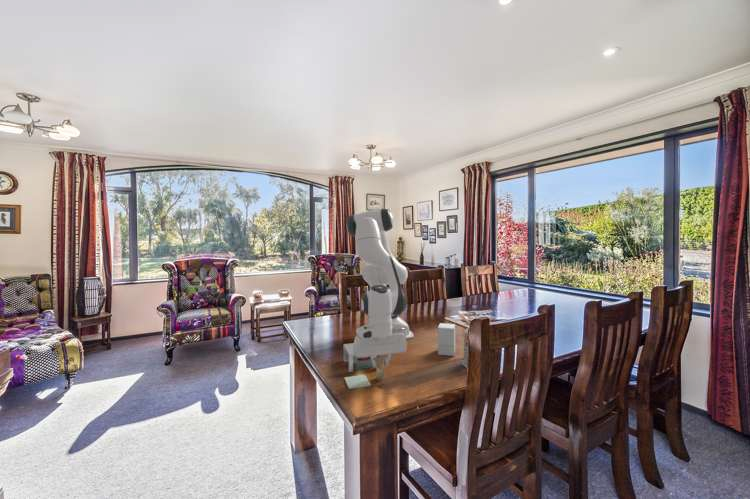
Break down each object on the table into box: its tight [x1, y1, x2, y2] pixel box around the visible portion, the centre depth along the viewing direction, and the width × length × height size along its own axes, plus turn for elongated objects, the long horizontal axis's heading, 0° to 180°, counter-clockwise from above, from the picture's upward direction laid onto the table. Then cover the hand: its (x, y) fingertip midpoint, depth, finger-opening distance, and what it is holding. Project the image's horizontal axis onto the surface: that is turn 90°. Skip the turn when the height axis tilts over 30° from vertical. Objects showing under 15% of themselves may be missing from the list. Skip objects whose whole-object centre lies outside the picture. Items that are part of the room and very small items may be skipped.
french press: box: [461, 305, 477, 369], centre depth 133 cm, size 10×12×25 cm
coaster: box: [344, 374, 372, 390], centre depth 117 cm, size 8×8×1 cm
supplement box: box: [437, 322, 456, 357], centre depth 145 cm, size 7×7×13 cm
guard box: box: [342, 342, 377, 373], centre depth 133 cm, size 14×12×7 cm
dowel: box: [376, 355, 386, 382], centre depth 119 cm, size 3×3×10 cm
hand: (380, 365), depth 119 cm, fingers closed on dowel, 3 cm apart
